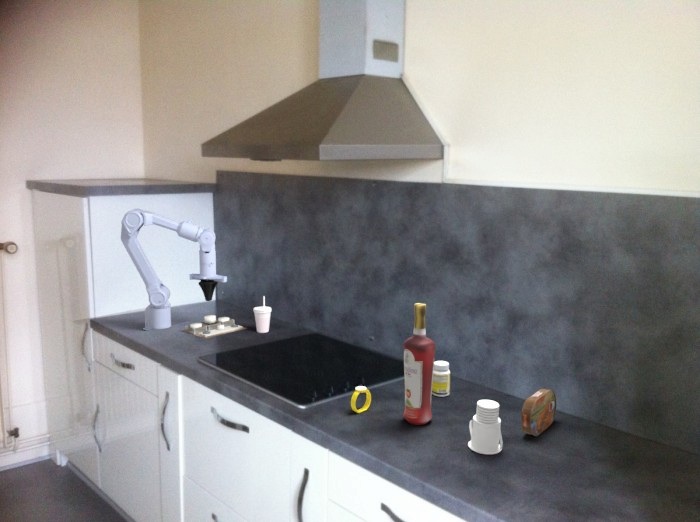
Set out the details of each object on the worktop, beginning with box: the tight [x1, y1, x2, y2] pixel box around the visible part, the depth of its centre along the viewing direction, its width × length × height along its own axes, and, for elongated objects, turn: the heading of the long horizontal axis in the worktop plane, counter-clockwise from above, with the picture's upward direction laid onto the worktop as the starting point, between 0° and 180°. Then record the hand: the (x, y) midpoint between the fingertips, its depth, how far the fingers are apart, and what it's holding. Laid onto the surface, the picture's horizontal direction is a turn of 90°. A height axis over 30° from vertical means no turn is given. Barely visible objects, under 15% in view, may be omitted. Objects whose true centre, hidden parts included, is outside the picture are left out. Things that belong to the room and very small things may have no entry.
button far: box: [217, 316, 230, 322], centre depth 233 cm, size 4×4×2 cm
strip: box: [198, 324, 244, 337], centre depth 225 cm, size 4×16×2 cm, turn 139°
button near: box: [189, 322, 202, 328], centre depth 224 cm, size 4×4×2 cm
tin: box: [521, 388, 557, 437], centre depth 147 cm, size 15×3×8 cm, turn 142°
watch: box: [350, 385, 372, 414], centre depth 157 cm, size 6×3×6 cm, turn 136°
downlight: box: [467, 399, 504, 455], centre depth 137 cm, size 8×7×10 cm
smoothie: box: [252, 295, 273, 334], centre depth 225 cm, size 6×6×14 cm
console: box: [181, 317, 248, 339], centre depth 227 cm, size 14×18×4 cm
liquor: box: [402, 302, 436, 426], centre depth 150 cm, size 7×7×28 cm
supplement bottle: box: [432, 360, 451, 398], centre depth 169 cm, size 5×5×8 cm
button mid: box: [203, 314, 217, 324], centre depth 228 cm, size 4×4×2 cm
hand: (208, 300), depth 232 cm, fingers closed
